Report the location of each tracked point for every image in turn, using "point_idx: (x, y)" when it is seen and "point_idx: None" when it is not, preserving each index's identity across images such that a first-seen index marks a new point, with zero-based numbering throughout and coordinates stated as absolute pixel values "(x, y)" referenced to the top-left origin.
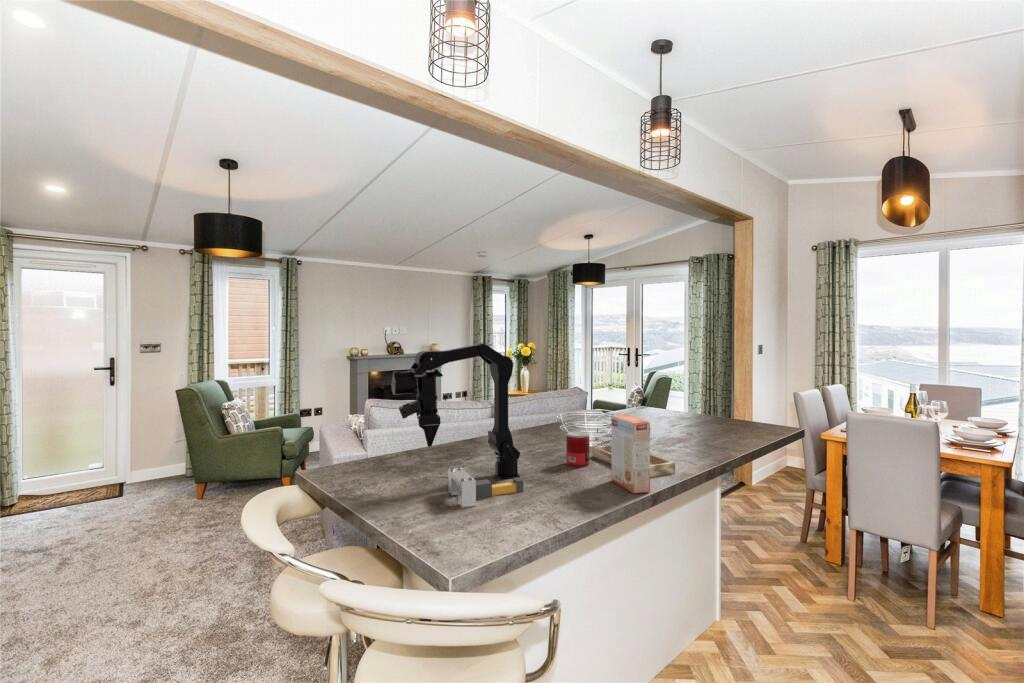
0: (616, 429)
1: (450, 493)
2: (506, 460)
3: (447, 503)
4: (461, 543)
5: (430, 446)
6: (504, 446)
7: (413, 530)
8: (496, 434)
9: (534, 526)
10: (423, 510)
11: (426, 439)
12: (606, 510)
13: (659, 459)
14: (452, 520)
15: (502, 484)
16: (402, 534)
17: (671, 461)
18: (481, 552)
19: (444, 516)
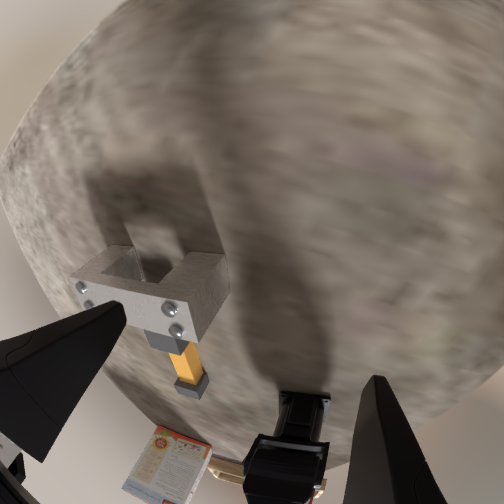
0: (167, 497)
1: (202, 254)
2: (259, 434)
3: (140, 222)
4: (23, 201)
5: (119, 313)
6: (244, 464)
7: (45, 132)
8: (244, 492)
9: (64, 303)
10: (109, 154)
11: (59, 320)
12: (113, 382)
13: (237, 482)
14: (67, 207)
15: (182, 365)
16: (38, 115)
17: (220, 479)
18: (16, 217)
19: (80, 197)
